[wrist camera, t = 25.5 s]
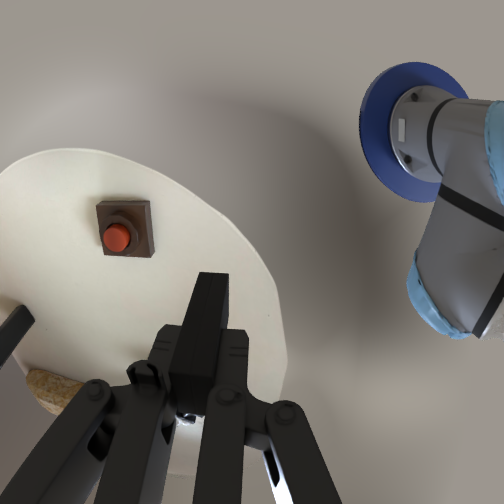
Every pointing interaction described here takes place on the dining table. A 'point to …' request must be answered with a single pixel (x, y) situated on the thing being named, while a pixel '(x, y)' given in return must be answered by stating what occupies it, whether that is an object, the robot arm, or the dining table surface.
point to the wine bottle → (14, 331)
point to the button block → (128, 226)
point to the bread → (52, 389)
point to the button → (116, 237)
